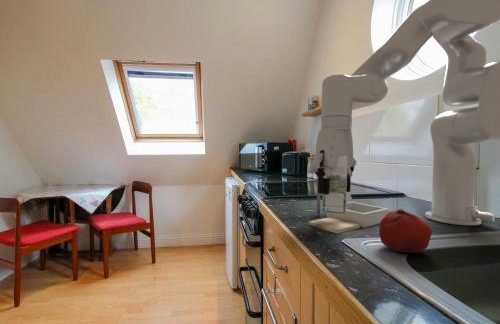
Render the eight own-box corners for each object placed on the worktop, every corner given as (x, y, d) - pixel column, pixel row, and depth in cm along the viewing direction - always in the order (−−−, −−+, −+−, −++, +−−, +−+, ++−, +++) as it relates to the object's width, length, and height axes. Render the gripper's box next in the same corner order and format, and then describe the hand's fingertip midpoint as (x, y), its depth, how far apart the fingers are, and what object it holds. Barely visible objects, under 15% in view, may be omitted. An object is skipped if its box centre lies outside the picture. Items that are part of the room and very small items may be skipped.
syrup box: (344, 209, 68) (346, 155, 67) (346, 214, 62) (347, 156, 62) (322, 207, 70) (324, 155, 69) (322, 212, 64) (323, 155, 63)
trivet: (359, 227, 65) (359, 224, 65) (336, 233, 60) (336, 230, 60) (331, 219, 72) (331, 216, 72) (309, 224, 67) (309, 221, 67)
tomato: (413, 242, 54) (414, 206, 54) (443, 261, 45) (444, 217, 45) (369, 241, 55) (370, 205, 55) (389, 259, 46) (391, 215, 45)
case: (388, 221, 71) (390, 179, 71) (359, 228, 64) (360, 181, 63) (344, 210, 84) (345, 174, 83) (315, 216, 76) (316, 176, 76)
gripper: (344, 128, 73) (343, 188, 73) (301, 124, 63) (299, 193, 64) (369, 126, 66) (367, 192, 67) (324, 121, 57) (322, 197, 58)
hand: (334, 192), depth 66 cm, fingers closed on syrup box, 7 cm apart
